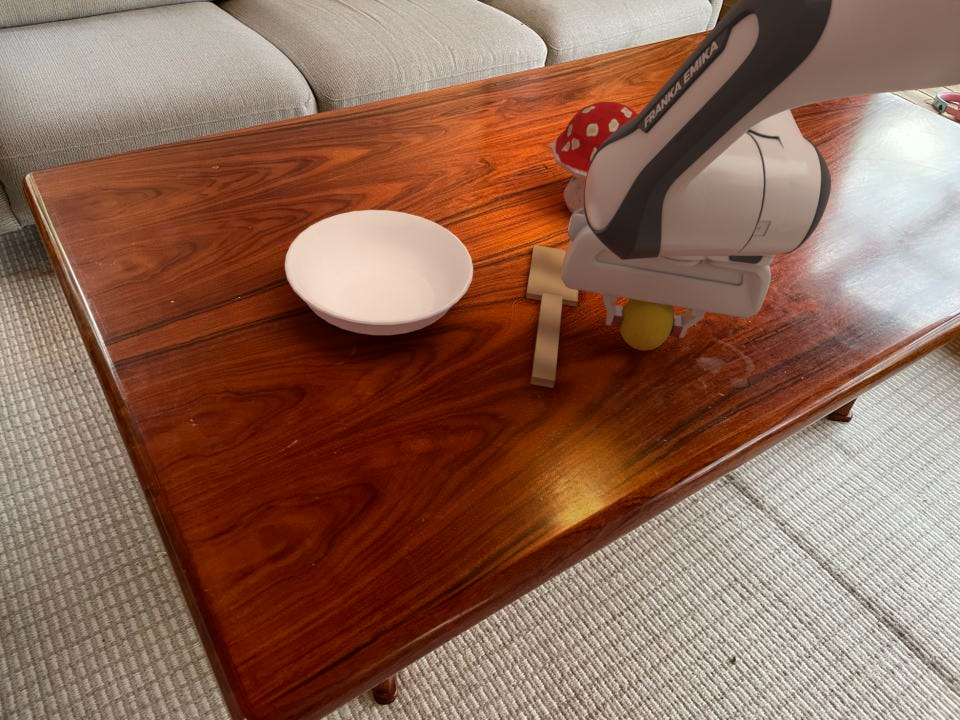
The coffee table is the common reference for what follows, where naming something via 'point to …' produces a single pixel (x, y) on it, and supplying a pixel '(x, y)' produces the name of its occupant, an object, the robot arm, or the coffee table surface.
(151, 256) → the coffee table surface
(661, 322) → the lemon
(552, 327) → the spatula
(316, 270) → the bowl
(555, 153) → the decorative mushroom
